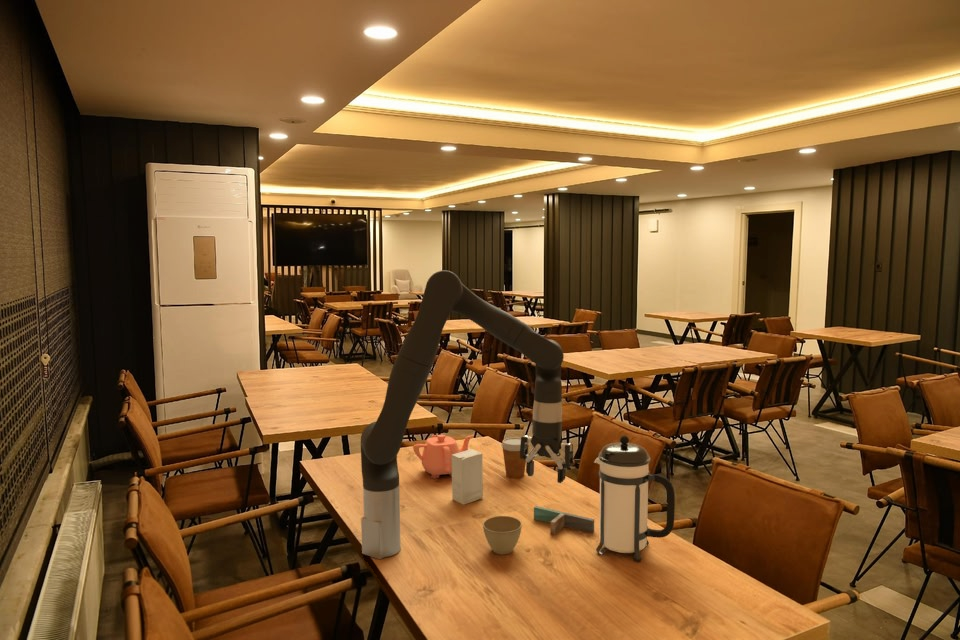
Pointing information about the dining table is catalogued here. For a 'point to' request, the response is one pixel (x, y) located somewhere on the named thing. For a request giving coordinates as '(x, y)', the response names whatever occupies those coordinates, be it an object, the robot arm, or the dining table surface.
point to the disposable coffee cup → (513, 458)
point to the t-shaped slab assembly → (563, 520)
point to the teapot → (439, 454)
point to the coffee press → (628, 499)
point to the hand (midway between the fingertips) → (545, 478)
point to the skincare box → (467, 476)
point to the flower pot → (502, 533)
